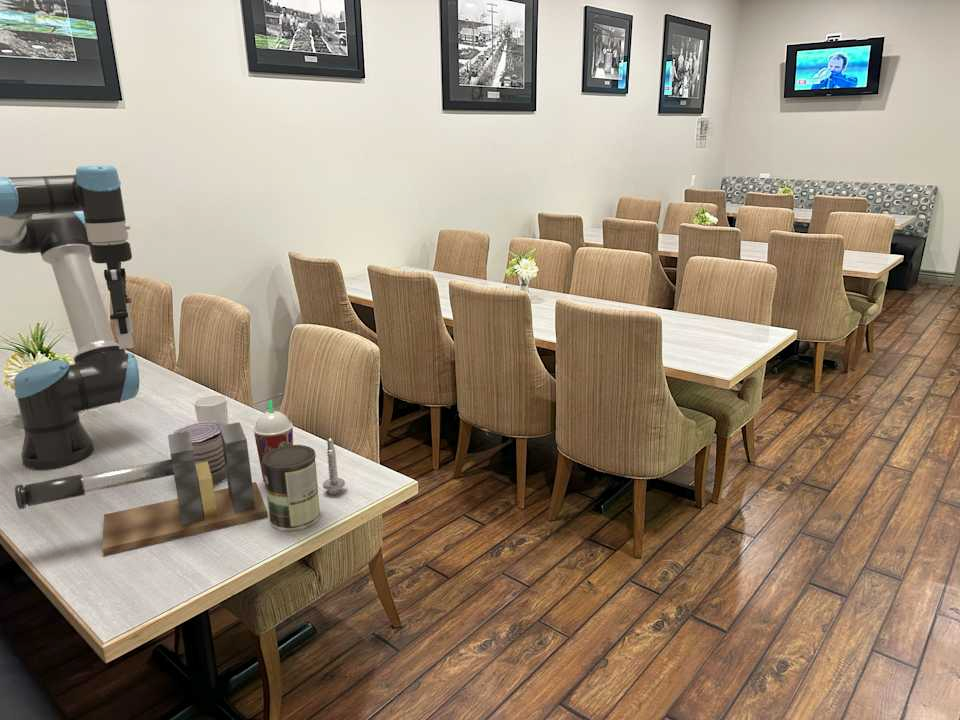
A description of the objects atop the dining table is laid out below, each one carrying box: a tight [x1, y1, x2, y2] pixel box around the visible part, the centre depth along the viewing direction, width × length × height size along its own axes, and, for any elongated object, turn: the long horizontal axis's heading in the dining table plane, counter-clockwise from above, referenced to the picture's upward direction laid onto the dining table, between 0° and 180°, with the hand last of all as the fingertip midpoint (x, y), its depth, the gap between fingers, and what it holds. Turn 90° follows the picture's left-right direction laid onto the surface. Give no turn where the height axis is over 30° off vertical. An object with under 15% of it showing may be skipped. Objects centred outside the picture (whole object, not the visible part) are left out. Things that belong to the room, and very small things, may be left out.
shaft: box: [14, 458, 174, 510], centre depth 131 cm, size 28×4×4 cm, turn 116°
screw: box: [322, 437, 346, 496], centre depth 148 cm, size 13×5×5 cm
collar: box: [195, 461, 217, 518], centre depth 140 cm, size 2×8×8 cm, turn 26°
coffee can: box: [262, 444, 321, 532], centre depth 138 cm, size 10×10×14 cm
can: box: [172, 420, 227, 486], centre depth 156 cm, size 11×11×12 cm
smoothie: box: [252, 399, 294, 483], centre depth 152 cm, size 8×8×20 cm
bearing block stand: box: [101, 421, 269, 557], centre depth 138 cm, size 30×14×17 cm, turn 116°
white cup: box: [193, 394, 229, 425], centre depth 179 cm, size 8×8×10 cm
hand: (126, 340), depth 149 cm, fingers open, 13 cm apart
